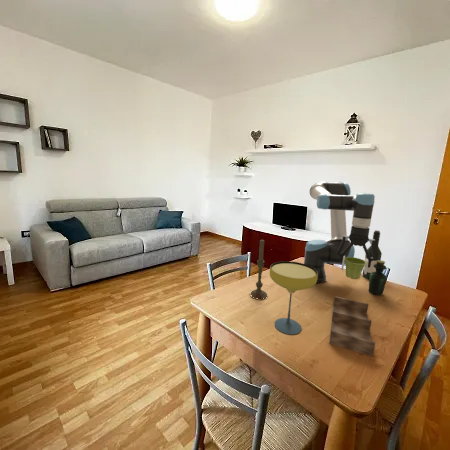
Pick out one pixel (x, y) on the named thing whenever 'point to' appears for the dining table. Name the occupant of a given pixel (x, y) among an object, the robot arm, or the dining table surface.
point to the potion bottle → (377, 279)
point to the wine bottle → (378, 256)
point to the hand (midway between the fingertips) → (353, 271)
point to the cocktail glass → (292, 288)
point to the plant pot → (354, 267)
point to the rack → (351, 326)
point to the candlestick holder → (258, 292)
